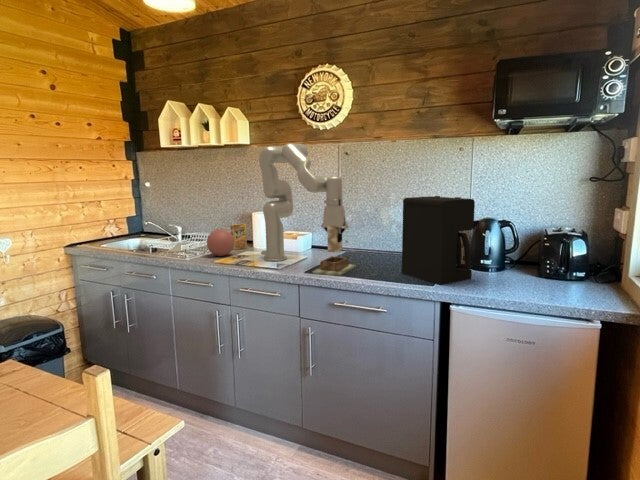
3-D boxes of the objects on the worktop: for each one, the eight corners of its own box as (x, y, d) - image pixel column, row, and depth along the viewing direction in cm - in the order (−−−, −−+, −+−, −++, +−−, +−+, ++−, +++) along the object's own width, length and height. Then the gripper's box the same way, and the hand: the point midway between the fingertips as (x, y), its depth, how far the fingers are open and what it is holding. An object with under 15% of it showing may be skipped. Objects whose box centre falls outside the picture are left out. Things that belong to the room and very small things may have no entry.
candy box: (234, 249, 254) (232, 225, 252) (231, 248, 258) (230, 224, 255) (247, 248, 259) (246, 223, 257) (244, 247, 263) (243, 223, 260)
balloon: (243, 252, 246) (242, 226, 243) (226, 259, 227) (224, 231, 225) (221, 251, 251) (219, 226, 248) (202, 257, 232) (200, 230, 230)
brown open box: (312, 273, 194) (312, 262, 193) (330, 264, 211) (330, 254, 211) (339, 276, 188) (339, 265, 187) (356, 266, 205) (356, 256, 204)
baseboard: (163, 254, 247) (184, 253, 248) (163, 249, 247) (184, 248, 248) (175, 245, 277) (193, 244, 279) (175, 240, 277) (193, 240, 278)
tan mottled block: (327, 251, 195) (327, 226, 193) (334, 248, 202) (334, 224, 200) (335, 252, 193) (335, 226, 191) (342, 249, 200) (342, 224, 198)
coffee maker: (480, 280, 176) (484, 198, 171) (447, 287, 167) (450, 200, 161) (432, 268, 201) (434, 195, 195) (401, 273, 191) (402, 197, 185)
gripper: (314, 203, 195) (315, 242, 197) (347, 203, 187) (348, 243, 190) (321, 202, 201) (322, 239, 204) (354, 202, 194) (354, 241, 197)
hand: (335, 241), depth 197 cm, fingers closed on tan mottled block, 4 cm apart
